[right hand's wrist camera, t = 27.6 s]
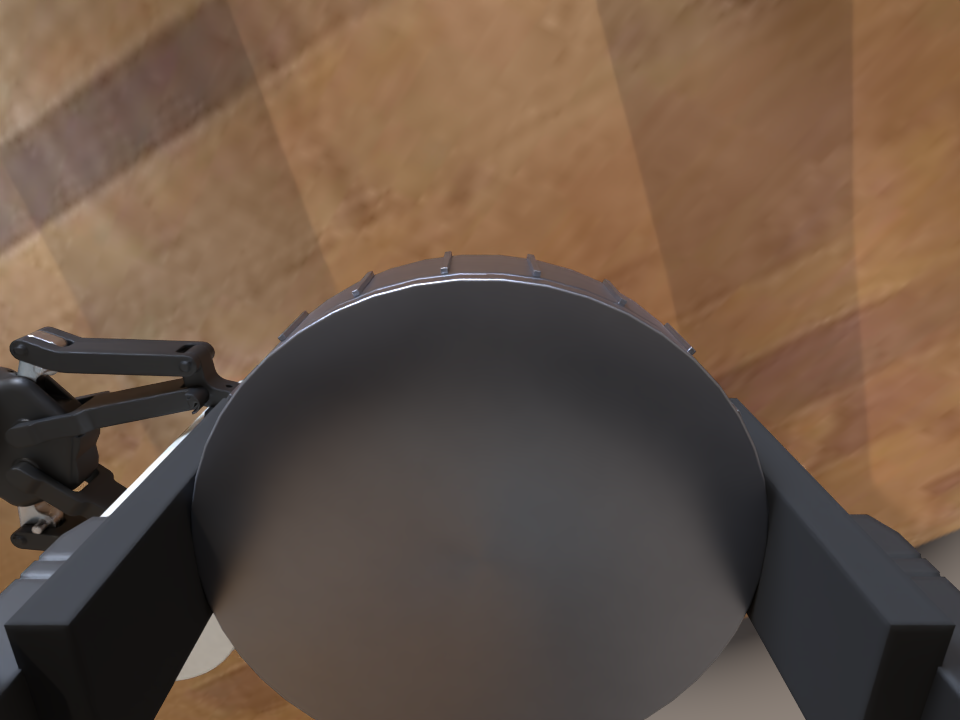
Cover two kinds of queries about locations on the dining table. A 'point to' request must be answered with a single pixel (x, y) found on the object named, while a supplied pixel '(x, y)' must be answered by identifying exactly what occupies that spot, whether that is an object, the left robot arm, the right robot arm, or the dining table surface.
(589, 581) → the lid
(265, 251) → the dining table surface
